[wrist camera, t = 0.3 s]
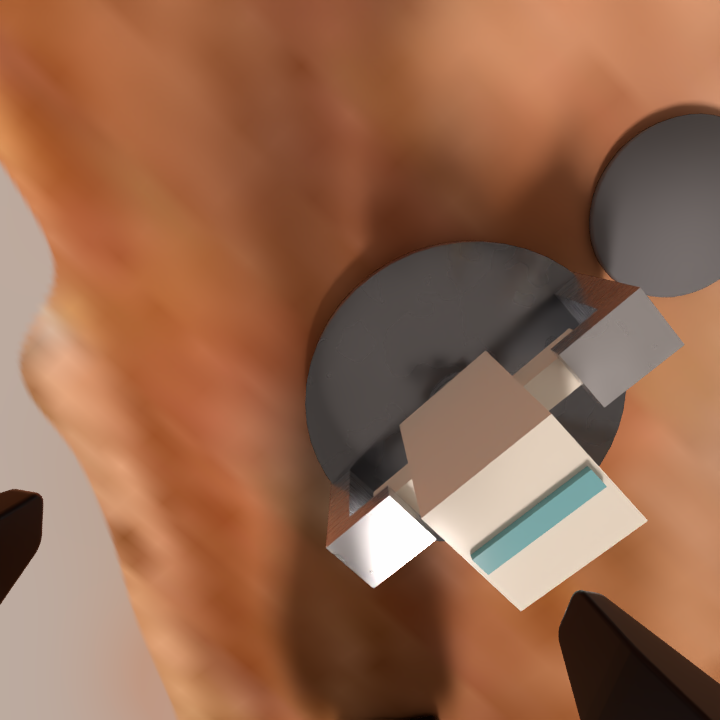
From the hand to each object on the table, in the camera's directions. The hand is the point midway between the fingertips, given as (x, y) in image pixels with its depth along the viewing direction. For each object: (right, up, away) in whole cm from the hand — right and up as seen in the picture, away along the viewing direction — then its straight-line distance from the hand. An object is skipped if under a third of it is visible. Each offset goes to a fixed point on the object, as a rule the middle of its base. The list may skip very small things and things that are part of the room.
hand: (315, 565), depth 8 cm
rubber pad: (+14, +10, +11) cm, 20 cm away
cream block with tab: (+5, +1, +11) cm, 12 cm away
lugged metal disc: (+5, +2, +13) cm, 15 cm away
